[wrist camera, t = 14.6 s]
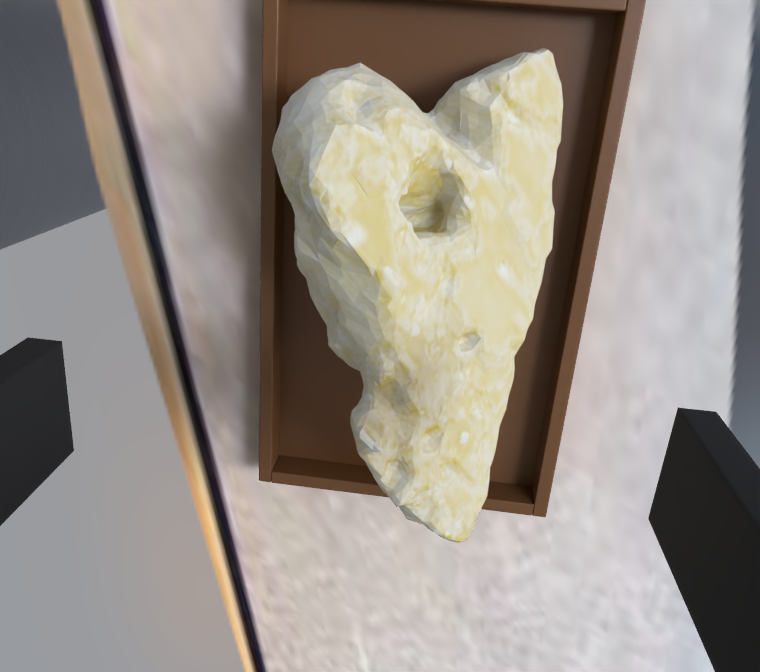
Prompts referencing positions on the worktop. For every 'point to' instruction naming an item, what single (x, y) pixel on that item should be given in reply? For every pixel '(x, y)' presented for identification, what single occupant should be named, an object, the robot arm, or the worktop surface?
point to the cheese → (426, 261)
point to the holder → (426, 87)
